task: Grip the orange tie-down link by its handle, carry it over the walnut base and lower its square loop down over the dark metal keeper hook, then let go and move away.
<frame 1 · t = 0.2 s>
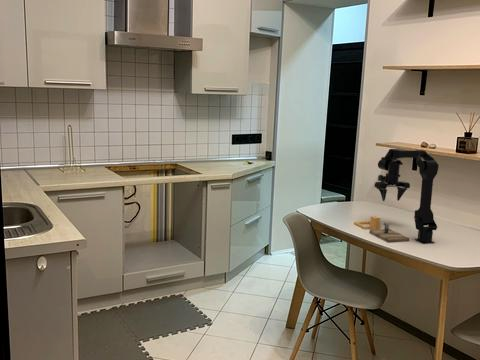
hand: (390, 200, 254), 14 cm above the table, tool pointing down, fingers open, 9 cm apart
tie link: (366, 226, 254), on the table
hook plate: (388, 236, 236), on the table
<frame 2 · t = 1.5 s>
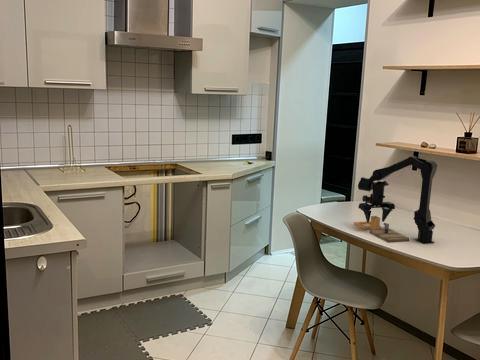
hand: (375, 222, 247), 4 cm above the table, tool pointing down, fingers open, 9 cm apart
nothing on the table moved.
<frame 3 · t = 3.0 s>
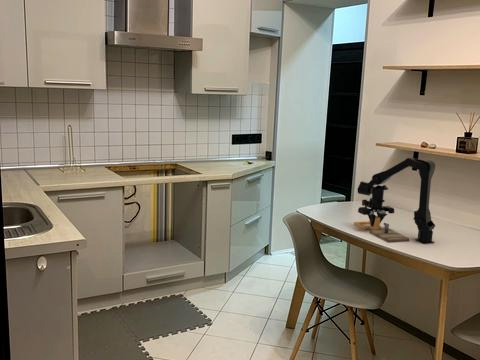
hand: (374, 226, 247), 2 cm above the table, tool pointing down, fingers closed on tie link, 3 cm apart
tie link: (366, 226, 254), on the table, touching gripper
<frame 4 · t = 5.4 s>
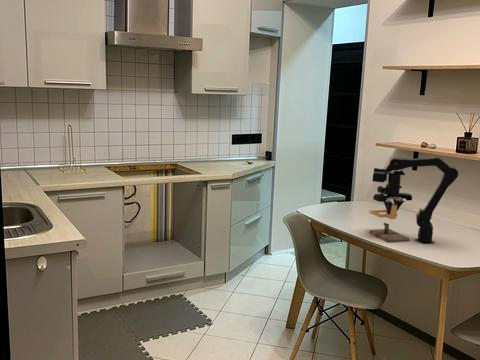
hand: (391, 214, 234), 12 cm above the table, tool pointing down, fingers closed on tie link, 3 cm apart
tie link: (382, 214, 241), point 10 cm above the table, touching gripper
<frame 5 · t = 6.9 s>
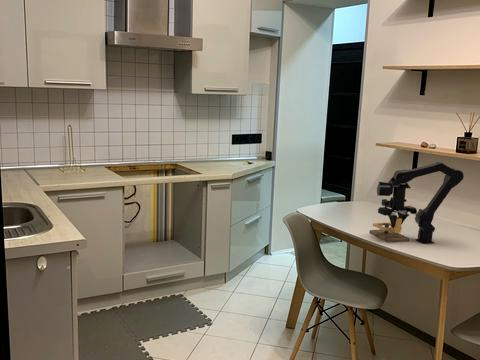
hand: (395, 227, 231), 6 cm above the table, tool pointing down, fingers closed on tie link, 3 cm apart
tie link: (386, 227, 238), point 4 cm above the table, touching gripper
when the fingers open (5 cm above the table, at t = 7.8 s): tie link drops 1 cm, resting on hook plate.
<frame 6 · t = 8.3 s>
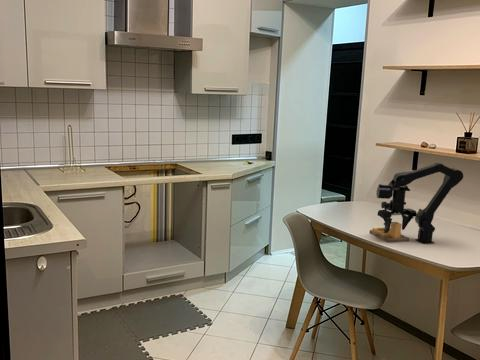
hand: (395, 230, 231), 5 cm above the table, tool pointing down, fingers open, 8 cm apart
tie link: (386, 232, 238), point 1 cm above the table, touching hook plate
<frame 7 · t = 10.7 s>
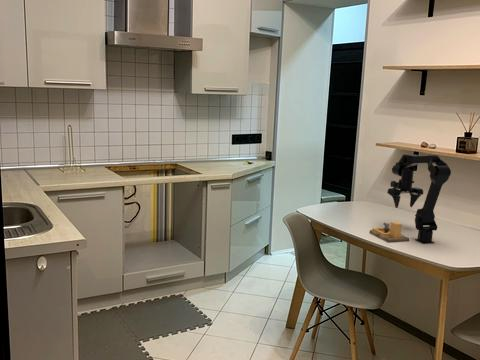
hand: (403, 207, 247), 12 cm above the table, tool pointing down, fingers open, 9 cm apart
nothing on the table moved.
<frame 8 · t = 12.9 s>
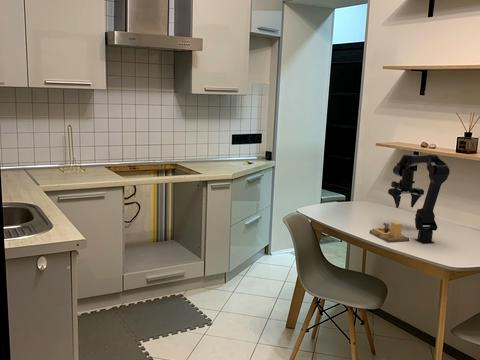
hand: (404, 207, 248), 12 cm above the table, tool pointing down, fingers open, 9 cm apart
nothing on the table moved.
at the end: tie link 0.1 cm from the target spot on the hook plate, point 1.5 cm above the hook plate's base; the gripper is holding nothing; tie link touching hook plate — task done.
